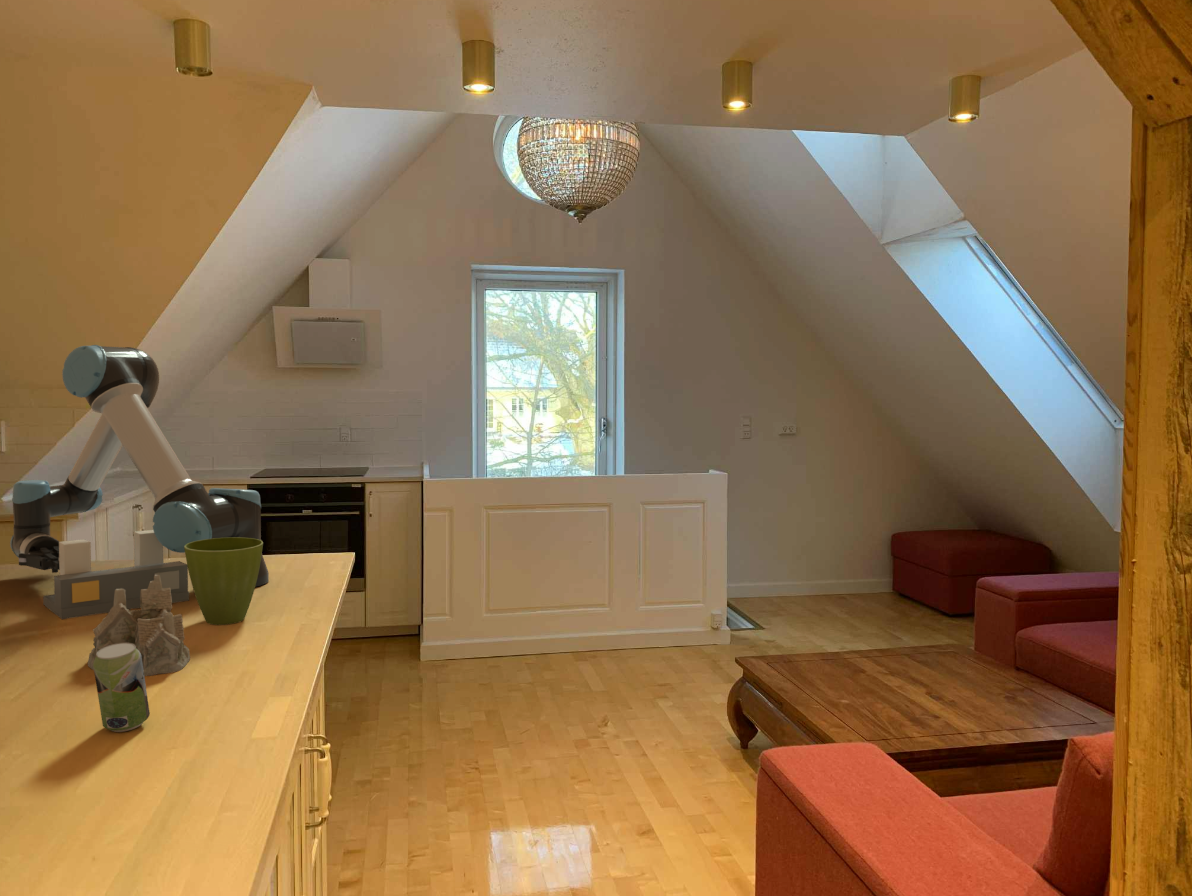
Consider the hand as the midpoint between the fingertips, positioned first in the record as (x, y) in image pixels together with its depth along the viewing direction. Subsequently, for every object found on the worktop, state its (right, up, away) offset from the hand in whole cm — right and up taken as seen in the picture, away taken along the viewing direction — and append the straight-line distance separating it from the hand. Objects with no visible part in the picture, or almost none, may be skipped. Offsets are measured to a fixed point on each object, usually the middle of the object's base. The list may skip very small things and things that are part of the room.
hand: (70, 568), depth 194 cm
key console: (+8, -8, +4) cm, 12 cm away
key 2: (+11, -5, +12) cm, 17 cm away
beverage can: (+46, -14, -66) cm, 81 cm away
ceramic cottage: (+34, -12, -37) cm, 51 cm away
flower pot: (+37, -10, -9) cm, 39 cm away
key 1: (+2, -6, -2) cm, 7 cm away
